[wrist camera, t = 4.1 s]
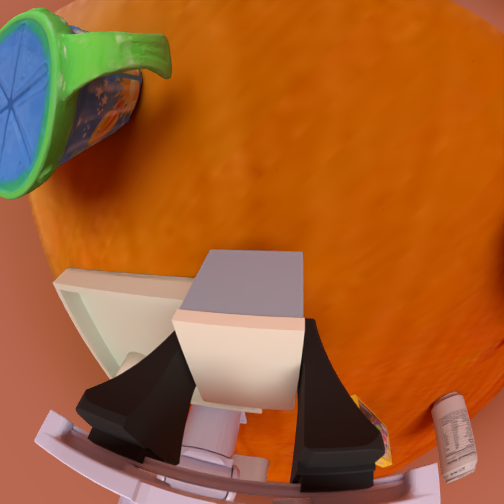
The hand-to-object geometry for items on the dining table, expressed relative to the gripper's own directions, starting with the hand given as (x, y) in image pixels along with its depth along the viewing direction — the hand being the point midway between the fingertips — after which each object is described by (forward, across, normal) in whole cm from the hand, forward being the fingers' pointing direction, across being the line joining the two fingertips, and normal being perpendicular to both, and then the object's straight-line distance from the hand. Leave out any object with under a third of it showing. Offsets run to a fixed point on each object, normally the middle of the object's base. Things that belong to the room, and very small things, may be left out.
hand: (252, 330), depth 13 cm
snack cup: (+9, +12, -13) cm, 20 cm away
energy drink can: (+9, -29, +28) cm, 41 cm away
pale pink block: (+2, 0, 0) cm, 2 cm away
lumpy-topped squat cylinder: (+9, +6, +63) cm, 64 cm away
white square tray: (+9, +12, +13) cm, 20 cm away
